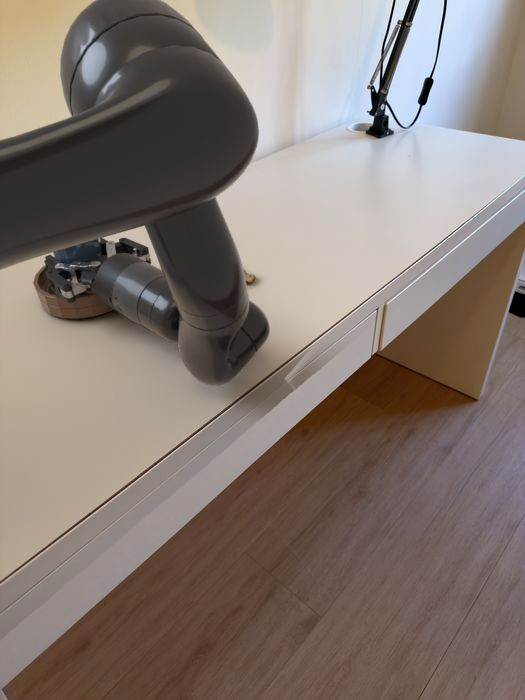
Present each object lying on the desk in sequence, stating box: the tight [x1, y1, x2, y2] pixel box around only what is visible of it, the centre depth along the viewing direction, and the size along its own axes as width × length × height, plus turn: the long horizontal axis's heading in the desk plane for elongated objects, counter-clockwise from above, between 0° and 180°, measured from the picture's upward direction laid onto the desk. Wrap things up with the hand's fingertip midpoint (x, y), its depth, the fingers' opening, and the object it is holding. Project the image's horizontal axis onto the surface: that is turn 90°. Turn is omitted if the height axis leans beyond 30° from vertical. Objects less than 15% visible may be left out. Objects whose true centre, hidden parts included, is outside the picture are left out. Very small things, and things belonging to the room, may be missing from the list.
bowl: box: [32, 264, 114, 320], centre depth 79 cm, size 14×14×4 cm
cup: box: [52, 239, 104, 296], centre depth 77 cm, size 7×7×10 cm
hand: (71, 251), depth 78 cm, fingers closed on cup, 7 cm apart
